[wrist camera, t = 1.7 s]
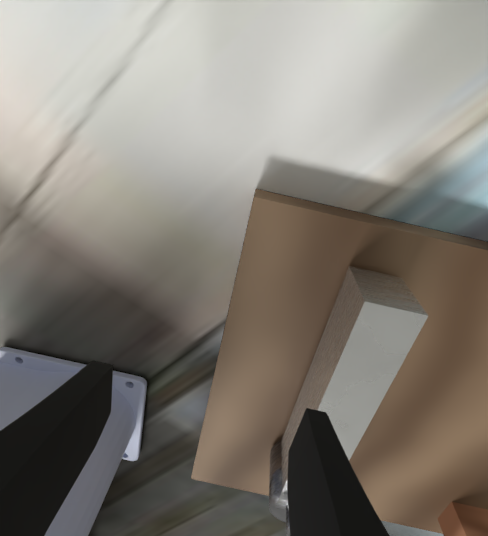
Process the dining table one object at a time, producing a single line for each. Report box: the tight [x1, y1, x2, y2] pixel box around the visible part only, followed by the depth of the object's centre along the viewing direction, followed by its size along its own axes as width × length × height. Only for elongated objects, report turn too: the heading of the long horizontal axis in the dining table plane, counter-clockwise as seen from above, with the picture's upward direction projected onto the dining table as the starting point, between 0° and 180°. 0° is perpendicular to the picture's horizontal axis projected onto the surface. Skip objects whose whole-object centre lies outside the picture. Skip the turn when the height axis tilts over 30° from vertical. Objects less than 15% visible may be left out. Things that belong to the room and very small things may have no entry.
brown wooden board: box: [191, 189, 488, 536], centre depth 18 cm, size 21×20×4 cm
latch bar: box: [269, 266, 428, 536], centre depth 16 cm, size 15×3×4 cm, turn 168°
